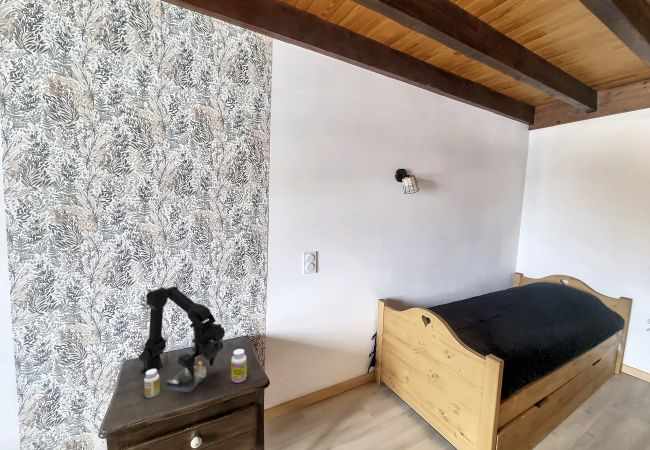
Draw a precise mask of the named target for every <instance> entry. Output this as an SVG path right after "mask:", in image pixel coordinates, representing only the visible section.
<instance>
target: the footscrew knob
mask: <svg viewBox="0 0 650 450" xmlns="http://www.w3.org/2000/svg"><path fill="white" fill-rule="evenodd" d="M206 367H207V366H204V365H202V366H198V365H197V364H195V366H194V377H192V376H191V374H190V373H189V371H188V369H187V368H185V367H184V371H182V370H181V371H182V372H181V371H180V373H179V372H178V373H179V374H178V373H177V374H178V375H177V374H176V375H177V381H180V383H181V384H185V383H188V382H191V381H192V380H193V379H194V378H195V377H204V378H206V376H207V375H206V372H207V369H206Z"/></svg>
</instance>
